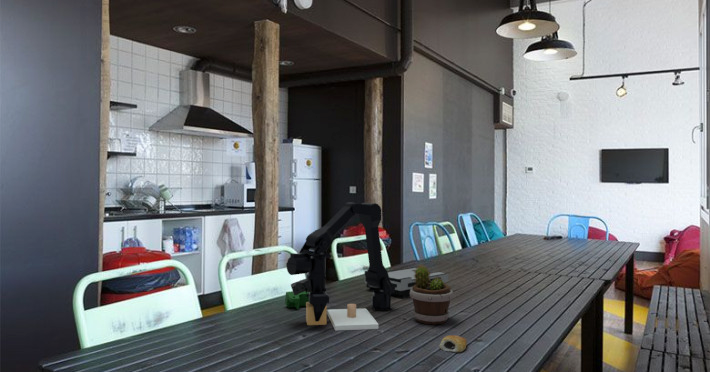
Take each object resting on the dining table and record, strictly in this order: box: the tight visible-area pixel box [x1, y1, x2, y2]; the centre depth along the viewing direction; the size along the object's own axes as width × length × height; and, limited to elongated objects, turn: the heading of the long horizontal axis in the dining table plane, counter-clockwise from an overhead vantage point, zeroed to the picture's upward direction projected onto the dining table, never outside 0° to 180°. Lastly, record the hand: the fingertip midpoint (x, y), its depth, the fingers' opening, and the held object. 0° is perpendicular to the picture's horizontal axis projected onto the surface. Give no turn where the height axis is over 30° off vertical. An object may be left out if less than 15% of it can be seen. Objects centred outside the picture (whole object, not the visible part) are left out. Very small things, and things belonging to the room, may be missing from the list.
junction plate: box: [327, 303, 379, 332], centre depth 168 cm, size 14×20×6 cm
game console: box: [364, 267, 449, 299], centre depth 219 cm, size 21×32×8 cm, turn 133°
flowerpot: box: [409, 262, 454, 325], centre depth 170 cm, size 14×15×20 cm
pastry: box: [438, 334, 468, 353], centre depth 143 cm, size 9×7×4 cm
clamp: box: [284, 290, 309, 311], centre depth 185 cm, size 12×6×9 cm, turn 112°
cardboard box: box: [305, 302, 328, 326], centre depth 166 cm, size 6×6×6 cm
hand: (316, 318), depth 166 cm, fingers closed on cardboard box, 6 cm apart
